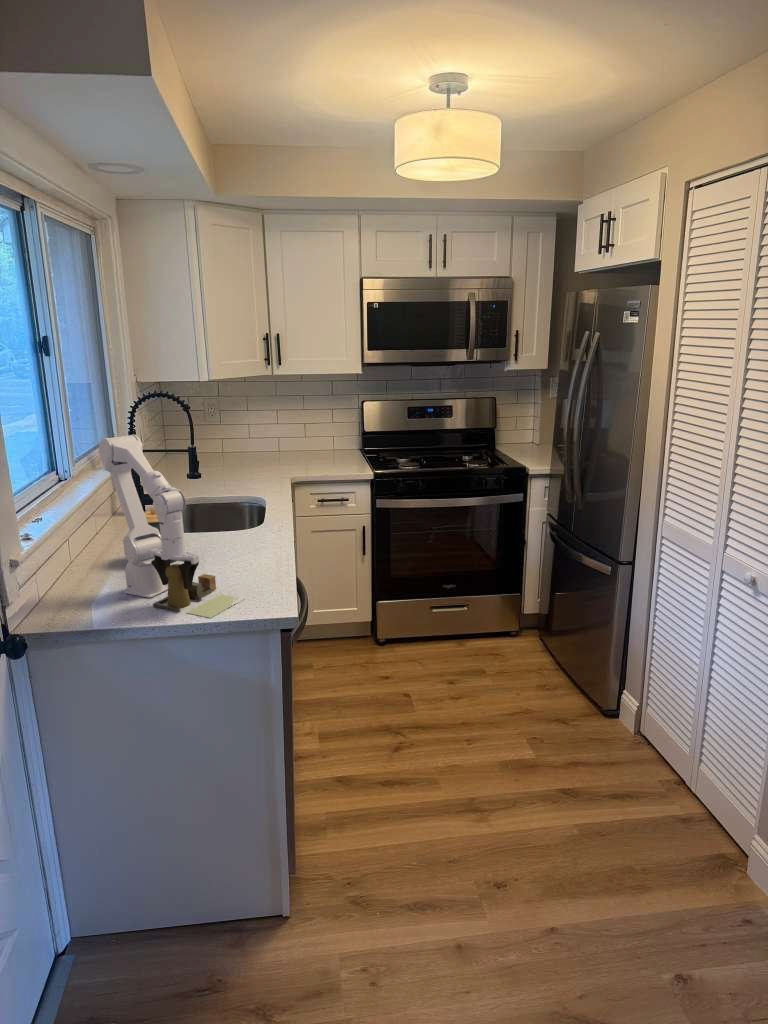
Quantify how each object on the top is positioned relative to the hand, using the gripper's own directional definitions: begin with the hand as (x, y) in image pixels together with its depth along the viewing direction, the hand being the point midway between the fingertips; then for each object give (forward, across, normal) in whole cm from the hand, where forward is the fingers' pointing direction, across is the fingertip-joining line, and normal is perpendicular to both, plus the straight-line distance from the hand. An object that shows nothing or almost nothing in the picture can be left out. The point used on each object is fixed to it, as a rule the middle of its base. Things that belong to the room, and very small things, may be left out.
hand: (177, 585), depth 179 cm
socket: (+5, 0, +3) cm, 6 cm away
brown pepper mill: (+5, 0, 0) cm, 5 cm away
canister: (+5, -32, +27) cm, 42 cm away
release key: (+5, 0, +9) cm, 10 cm away
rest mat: (+5, +10, +3) cm, 12 cm away
